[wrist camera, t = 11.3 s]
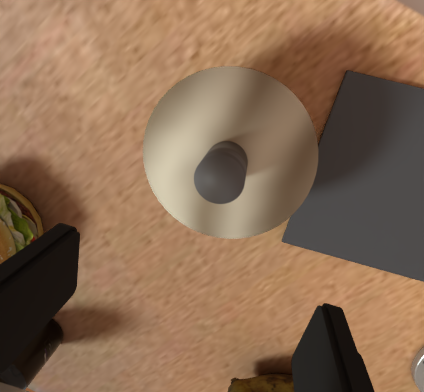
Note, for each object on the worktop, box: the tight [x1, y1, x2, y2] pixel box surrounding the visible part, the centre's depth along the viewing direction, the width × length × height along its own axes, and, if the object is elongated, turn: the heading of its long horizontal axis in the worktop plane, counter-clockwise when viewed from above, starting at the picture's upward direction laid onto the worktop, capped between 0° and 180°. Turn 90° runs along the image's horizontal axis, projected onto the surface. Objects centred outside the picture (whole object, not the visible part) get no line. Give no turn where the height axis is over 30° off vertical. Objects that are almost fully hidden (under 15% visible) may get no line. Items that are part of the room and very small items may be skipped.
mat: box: [282, 70, 424, 282], centre depth 30 cm, size 19×19×1 cm
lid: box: [143, 66, 318, 239], centre depth 23 cm, size 15×15×6 cm
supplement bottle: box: [0, 319, 63, 390], centre depth 42 cm, size 7×7×12 cm
